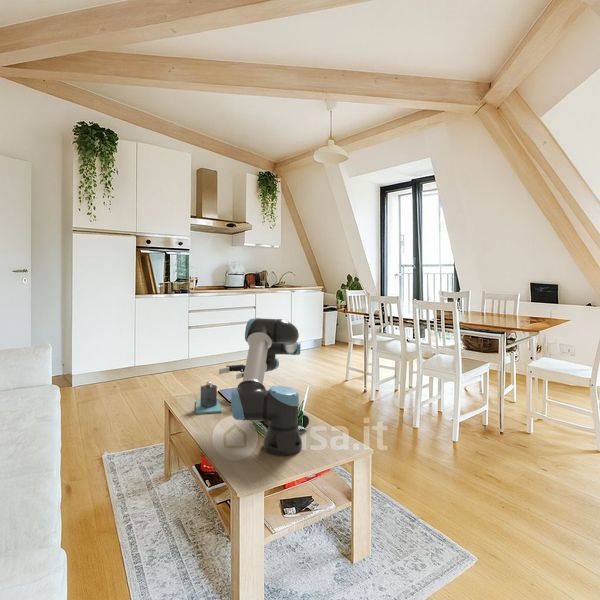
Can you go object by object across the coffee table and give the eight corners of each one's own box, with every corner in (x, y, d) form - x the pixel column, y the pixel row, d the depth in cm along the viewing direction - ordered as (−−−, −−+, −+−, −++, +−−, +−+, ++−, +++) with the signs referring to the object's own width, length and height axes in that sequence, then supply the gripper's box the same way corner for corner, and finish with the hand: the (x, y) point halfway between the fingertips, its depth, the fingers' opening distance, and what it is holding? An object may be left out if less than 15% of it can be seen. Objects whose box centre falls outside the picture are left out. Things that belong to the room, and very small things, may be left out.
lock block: (206, 408, 182) (207, 384, 181) (200, 406, 185) (200, 382, 184) (216, 405, 187) (216, 382, 186) (210, 403, 190) (210, 380, 189)
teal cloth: (221, 412, 180) (221, 410, 180) (195, 414, 177) (195, 412, 176) (219, 400, 197) (219, 398, 197) (196, 401, 194) (196, 399, 194)
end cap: (309, 429, 164) (309, 414, 164) (295, 432, 160) (296, 417, 160) (296, 421, 173) (297, 407, 172) (283, 424, 169) (284, 409, 168)
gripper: (273, 377, 201) (244, 385, 185) (241, 369, 217) (212, 376, 200) (273, 364, 201) (244, 370, 184) (241, 357, 216) (212, 362, 200)
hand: (227, 373), depth 192 cm, fingers open, 13 cm apart
